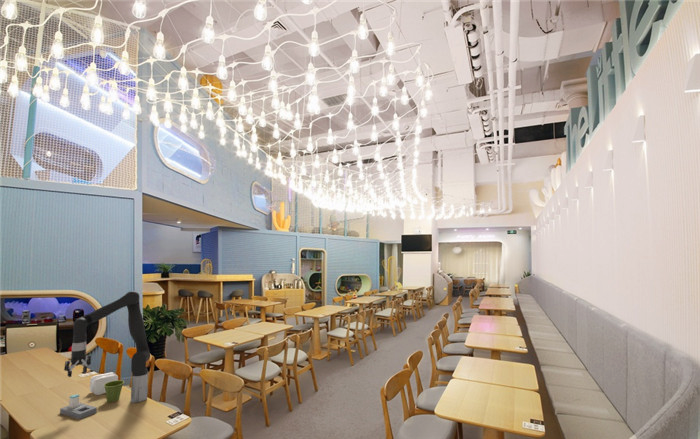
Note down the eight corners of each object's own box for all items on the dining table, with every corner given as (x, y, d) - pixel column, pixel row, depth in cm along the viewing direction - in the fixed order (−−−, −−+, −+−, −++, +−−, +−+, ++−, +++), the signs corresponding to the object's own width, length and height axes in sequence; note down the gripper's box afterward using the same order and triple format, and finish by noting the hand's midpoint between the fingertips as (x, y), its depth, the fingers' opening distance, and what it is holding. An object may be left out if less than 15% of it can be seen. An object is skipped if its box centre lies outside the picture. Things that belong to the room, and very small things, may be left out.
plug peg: (78, 410, 221) (79, 395, 222) (71, 413, 217) (73, 397, 218) (74, 409, 222) (76, 394, 223) (68, 412, 219) (69, 396, 220)
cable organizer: (92, 396, 243) (93, 379, 244) (89, 392, 250) (90, 376, 251) (117, 390, 253) (118, 374, 255) (113, 386, 261) (114, 371, 262)
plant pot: (101, 405, 229) (102, 387, 230) (104, 398, 239) (105, 382, 240) (122, 401, 234) (123, 384, 235) (124, 395, 245) (125, 379, 246)
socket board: (96, 412, 219) (97, 407, 219) (79, 419, 209) (79, 413, 210) (77, 407, 226) (77, 401, 227) (59, 413, 217) (60, 408, 217)
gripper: (70, 352, 217) (68, 379, 215) (94, 346, 230) (92, 371, 228) (63, 351, 219) (61, 377, 218) (87, 345, 233) (85, 370, 231)
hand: (77, 374), depth 223 cm, fingers open, 8 cm apart
